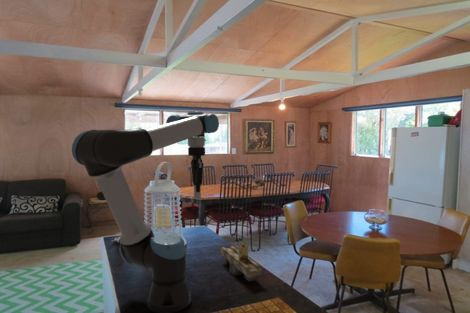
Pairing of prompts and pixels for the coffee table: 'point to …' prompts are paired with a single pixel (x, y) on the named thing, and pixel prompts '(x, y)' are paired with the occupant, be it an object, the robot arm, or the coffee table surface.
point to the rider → (243, 252)
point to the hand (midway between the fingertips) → (197, 198)
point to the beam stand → (240, 264)
